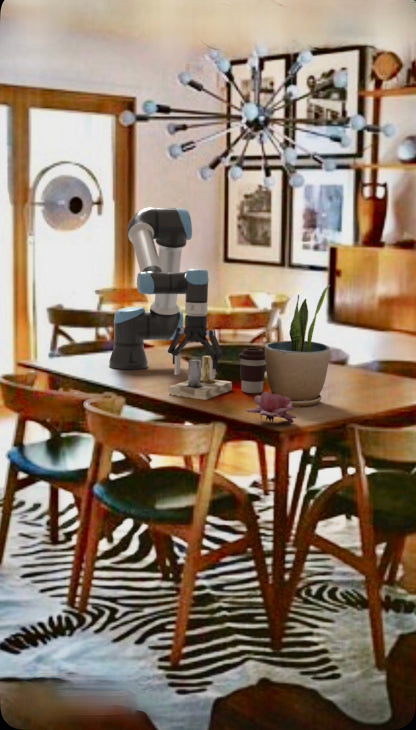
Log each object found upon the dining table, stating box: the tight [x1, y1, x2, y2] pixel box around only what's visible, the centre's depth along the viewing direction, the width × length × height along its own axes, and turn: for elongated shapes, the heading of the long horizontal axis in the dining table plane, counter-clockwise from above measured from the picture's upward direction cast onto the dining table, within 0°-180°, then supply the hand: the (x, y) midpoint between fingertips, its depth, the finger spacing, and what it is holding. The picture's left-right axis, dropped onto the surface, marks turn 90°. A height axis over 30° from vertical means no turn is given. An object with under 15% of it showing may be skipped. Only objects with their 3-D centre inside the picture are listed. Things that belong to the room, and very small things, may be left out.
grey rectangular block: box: [187, 358, 202, 389], centre depth 346 cm, size 4×4×12 cm
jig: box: [168, 377, 233, 401], centre depth 352 cm, size 20×14×3 cm
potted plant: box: [264, 284, 331, 408], centre depth 336 cm, size 21×22×40 cm
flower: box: [246, 391, 297, 425], centre depth 307 cm, size 15×15×10 cm
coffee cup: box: [238, 347, 266, 394], centre depth 355 cm, size 10×10×15 cm
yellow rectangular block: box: [201, 355, 215, 384], centre depth 355 cm, size 4×4×12 cm
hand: (194, 376), depth 346 cm, fingers open, 13 cm apart
